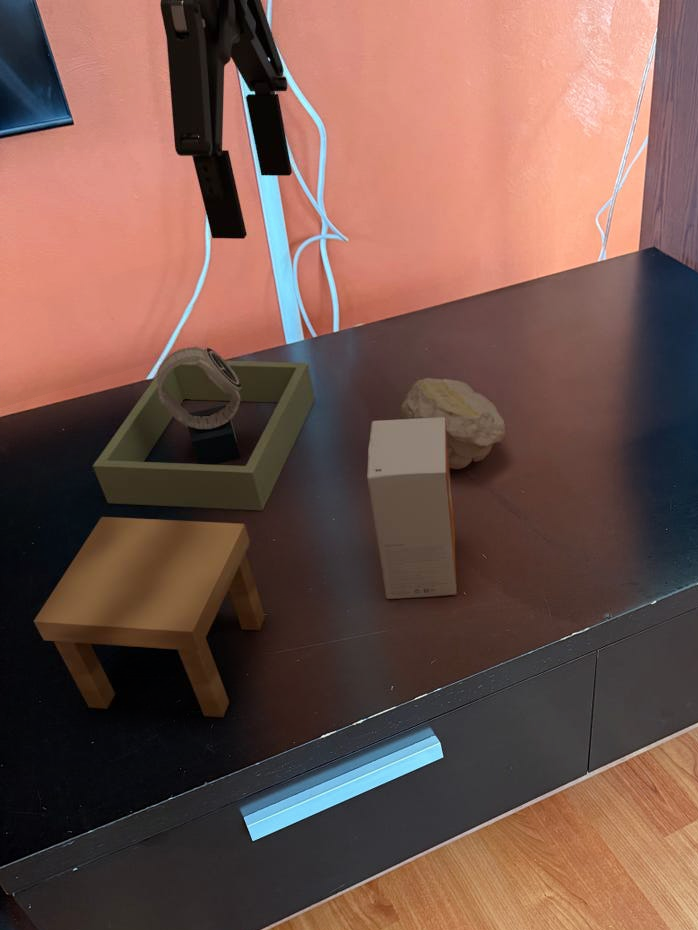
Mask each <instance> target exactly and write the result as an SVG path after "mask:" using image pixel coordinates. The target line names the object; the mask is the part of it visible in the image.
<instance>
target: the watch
mask: <svg viewBox="0 0 698 930" xmlns="http://www.w3.org/2000/svg"><path fill="white" fill-rule="evenodd" d="M189 361H190V362H196V365H197V366H199V367H200V368H202V370H203V371H204V373H205V374H206V376H207V377H208V378H209V379H210V380H211V382H212V383H213V384H214V385H215V386H216V387H218V388H219V389H220V390H221V391H223V392H224V393H226V394H229V395H232V397H231V400H230V401H228V403H227V404H226V405H221V406H217V407H212V408H207V409H202V410H197V411H193V412H188V410H187V409H186V408H184V407H183V406H182V405H179V404H178V403H177V402H176V401H175V400H174V399H173V398H172V397H171V396H170V395H169V393H168V392H167V391H166V390H165V388H164V386H163V381H164V379H165V377H166V376H167V374H168V373H169V372H170V371H171V370H172V368H175V367H177V366H179V365H180V364H184V363H188V362H189ZM226 361H227V360H225V359H224V358H223V357H222V356H221V355H220V354H219V353H218V352H216V351H215V350H213V349H212V348H210V347H206V348H205V349H204V348H202V347H198V346H193V347H192V346H191V347H185V348H181V349H179V350H177V351H174V352H172V353H171V354H169V355H168V356H167V357H166V358H164V360H163V361H162V363H161V364H160V365H159V367H158V371H157V372H156V373H157V374H156V376H157V386H158V392H159V393H158V394H159V399H160V402H161V403H162V405H163V406H164V408H165V409H166V410H167V411H168V412H169V413H170V415H172V416H173V419H175V420H176V421H177V422H179V423H180V425H183V426H184V427H186V428H187V429H188V435H189V439H190V444H191V446H192V450H193V452H194V455H195V459H196V462H197V464H206V465H219V464H221V463H226V462H230V461H235V460H240V459H242V457H241V452H240V449H239V446H238V441H237V437H236V432H235V430H234V429H235V428H234V426H233V422H232V419H233V418H234V417H235V415H236V414H237V412H238V409H239V407H240V403H241V401H240V395H239V391H238V390H239V389H241V387H242V386H241V383H240V380H239V379H238V377H237V375H236V374H235V372H234V371H233V370H232V368H231V367H230V366H229V365H228V363H227V362H226Z"/></svg>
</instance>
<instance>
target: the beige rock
mask: <svg viewBox="0 0 698 930" xmlns="http://www.w3.org/2000/svg"><path fill="white" fill-rule="evenodd" d="M400 407H401V408H400V419H420V418H439V417H445V418H446V428H447V445H448V457H449V469H452V470H462V469H464V468H466V467H468V465H469V464H470V463H472V461H473V462H475V463H476V462H479V461H483V460H484V458H486V457H487V456H488V455H489V454H490V452H491V451H492V447H493V445H494V444H498V443H501V442H503V440H504V438H505V436H506V424H505V420H504V418H503V417H502V416H501V414H499V411H498V409H497V406H495V404H494V403H493V402H491V401H490V399H488V398H486V397H485V396H483V394H481V393H479V392H475V391H474V389H472V388H471V386H470V385H468V384H467V383H465V382H463V381H459V380H457V379H449V378H441V379H439V378H438V379H437V378H432V377H425V378H424V379H419V380H417V381H416V382H415V383H413V385H412V387H411V388H410V389H409V391H408V392H407V394H406V396H405V400H404V401H403V402H402V404H401V406H400Z"/></svg>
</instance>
